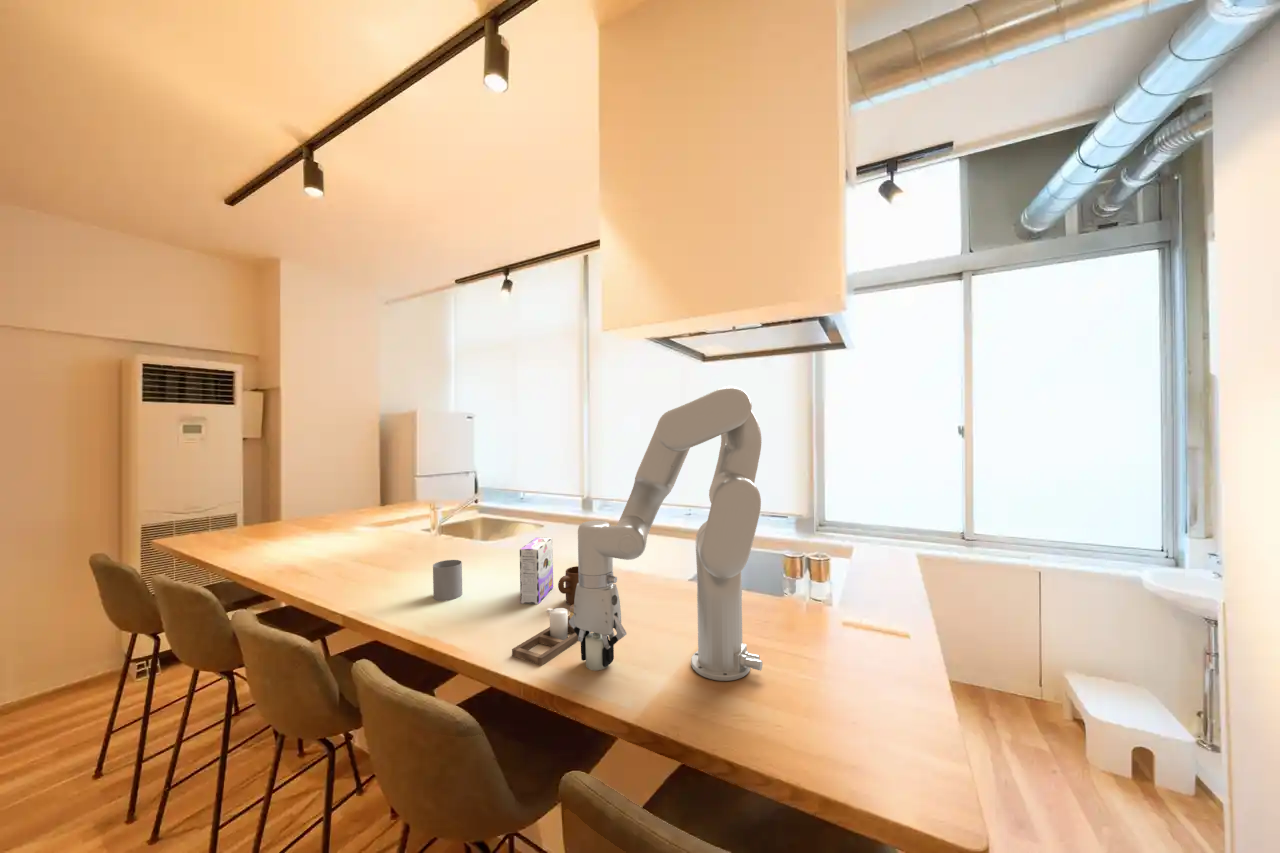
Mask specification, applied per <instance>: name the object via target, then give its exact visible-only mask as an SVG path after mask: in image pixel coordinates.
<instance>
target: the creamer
mask: <svg viewBox="0 0 1280 853" xmlns="http://www.w3.org/2000/svg"><path fill="white" fill-rule="evenodd" d="M546 613H549V627H550V637H554V638H557V639H561V640H564V639H566V638H567V637H569V633H568V616H569V615H568V613H569V612H568V609H567V608H564V607H556V608H550V607H548V608H546Z"/></svg>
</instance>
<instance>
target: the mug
mask: <svg viewBox="0 0 1280 853" xmlns="http://www.w3.org/2000/svg"><path fill="white" fill-rule="evenodd" d="M564 574H565V575H564V576H561V577H560V578H559V581H558V583H557V586H558V588H557V589H558V590H559V592H560V594H564V595H565V603H567V604H568V605H570V606H571V605H573V604H574V599H575V591H576V586H577V584H578V583H579V573H578V565H576V566H571V567H568V568H566V569H565V573H564Z"/></svg>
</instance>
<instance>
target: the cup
mask: <svg viewBox="0 0 1280 853" xmlns="http://www.w3.org/2000/svg"><path fill="white" fill-rule="evenodd" d="M462 565H463V562H462V560H458V559H446V560H441V561H438V562H435V563H433V565H432V580H433V581H432V583H433V584H432V585H433V586H432V587H433V588H432V589H433V600H435V601H438V602H444V601H452V600H455V599H458V598H460V597H462V596H463V566H462Z"/></svg>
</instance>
